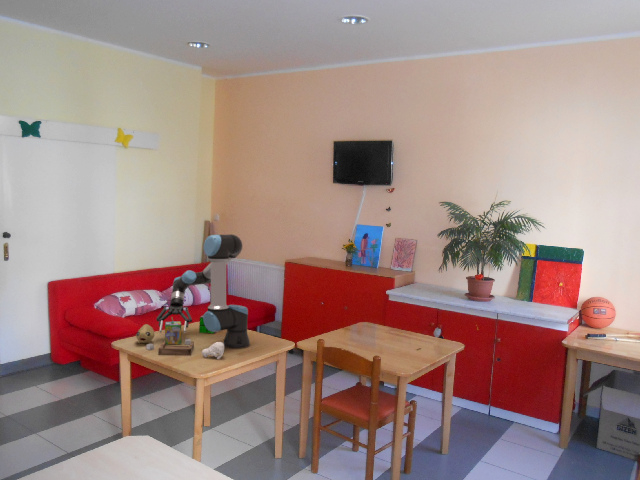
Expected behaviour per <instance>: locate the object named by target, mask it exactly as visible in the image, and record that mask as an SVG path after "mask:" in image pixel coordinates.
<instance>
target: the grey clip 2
mask: <svg viewBox="0 0 640 480" xmlns="http://www.w3.org/2000/svg"><path fill="white" fill-rule="evenodd" d="M191 342H192V339H191V338H185V340H184V346H190V344H191Z"/></svg>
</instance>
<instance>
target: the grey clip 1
mask: <svg viewBox="0 0 640 480" xmlns="http://www.w3.org/2000/svg"><path fill="white" fill-rule="evenodd" d="M145 349H146V350H148V351H152V350H155V344H152V343H150V344H148V343H146V348H145Z"/></svg>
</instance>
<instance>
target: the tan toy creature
mask: <svg viewBox="0 0 640 480" xmlns="http://www.w3.org/2000/svg"><path fill="white" fill-rule="evenodd" d="M135 337H136V340H137V343H138V344H151V341H152V340H153V339H154V337H155V331H154V328H153V327H152V326H151V325H149V324H147V323H146V324H143V325H142V326H141V327H140V328H139V329H138V330H137V332H136V334H135Z"/></svg>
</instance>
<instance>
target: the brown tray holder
mask: <svg viewBox="0 0 640 480" xmlns="http://www.w3.org/2000/svg"><path fill="white" fill-rule="evenodd" d="M194 348H195V341H191V344H190V345H166V341H165V340H163V341H162V343H161V344H160V346H159V347H158V350H157V353H158V354H157V355H158V356H192V353H193V351H194Z"/></svg>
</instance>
